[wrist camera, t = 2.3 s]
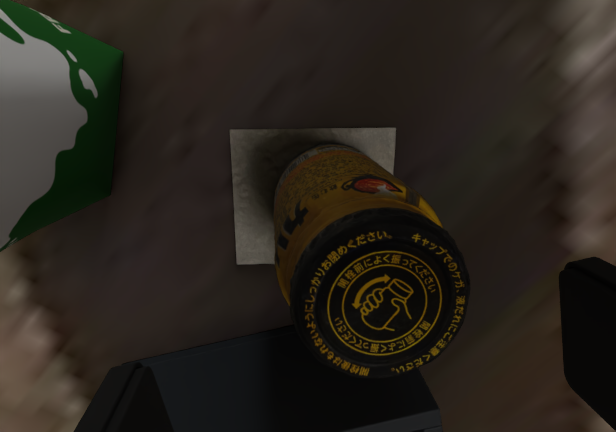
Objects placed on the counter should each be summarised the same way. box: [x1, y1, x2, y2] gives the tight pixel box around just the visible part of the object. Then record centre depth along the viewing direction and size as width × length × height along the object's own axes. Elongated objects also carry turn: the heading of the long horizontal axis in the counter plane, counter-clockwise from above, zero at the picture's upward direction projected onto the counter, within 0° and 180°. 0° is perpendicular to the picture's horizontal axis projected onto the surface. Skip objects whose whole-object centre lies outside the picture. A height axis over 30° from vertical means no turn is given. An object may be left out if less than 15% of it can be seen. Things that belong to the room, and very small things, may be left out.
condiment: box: [230, 128, 470, 378], centre depth 18 cm, size 7×8×12 cm
